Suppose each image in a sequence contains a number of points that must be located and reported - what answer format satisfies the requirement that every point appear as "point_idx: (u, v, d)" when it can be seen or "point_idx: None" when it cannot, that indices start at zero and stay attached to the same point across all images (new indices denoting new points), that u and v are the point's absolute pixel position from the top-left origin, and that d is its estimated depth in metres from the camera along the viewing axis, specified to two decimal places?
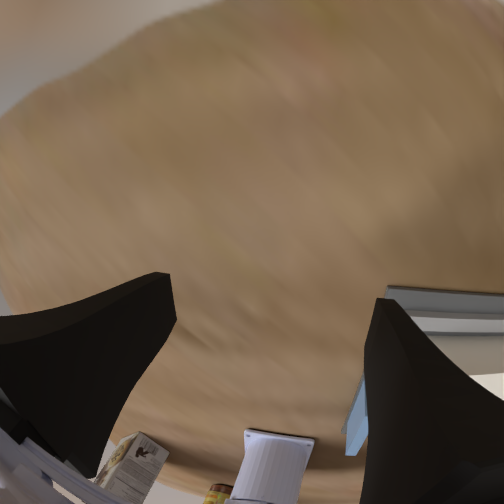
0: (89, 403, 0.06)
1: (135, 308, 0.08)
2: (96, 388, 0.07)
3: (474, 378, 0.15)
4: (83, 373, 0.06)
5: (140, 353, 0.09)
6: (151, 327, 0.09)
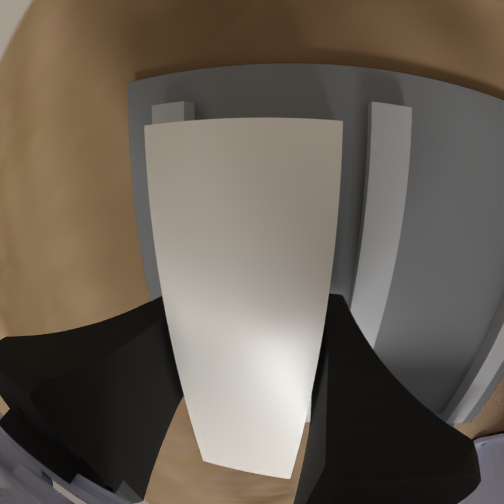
0: (141, 426, 0.06)
1: None
2: (148, 409, 0.06)
3: (190, 382, 0.08)
4: (136, 395, 0.06)
5: None
6: None
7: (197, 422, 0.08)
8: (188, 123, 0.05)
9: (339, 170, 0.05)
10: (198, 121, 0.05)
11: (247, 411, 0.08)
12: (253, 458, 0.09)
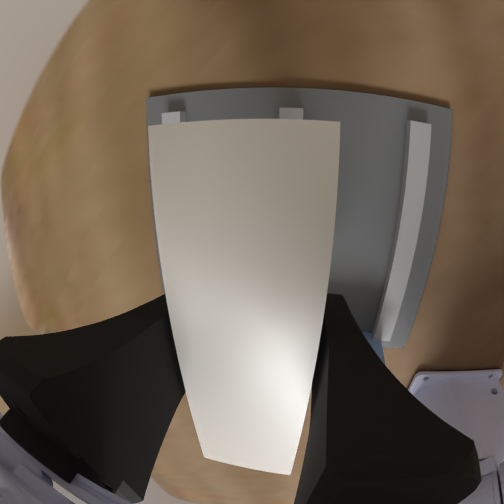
0: (141, 426, 0.06)
1: None
2: (147, 409, 0.06)
3: (192, 378, 0.08)
4: (136, 395, 0.06)
5: None
6: None
7: (198, 418, 0.09)
8: (191, 124, 0.05)
9: (337, 169, 0.05)
10: (201, 122, 0.05)
11: (248, 406, 0.08)
12: (254, 454, 0.09)
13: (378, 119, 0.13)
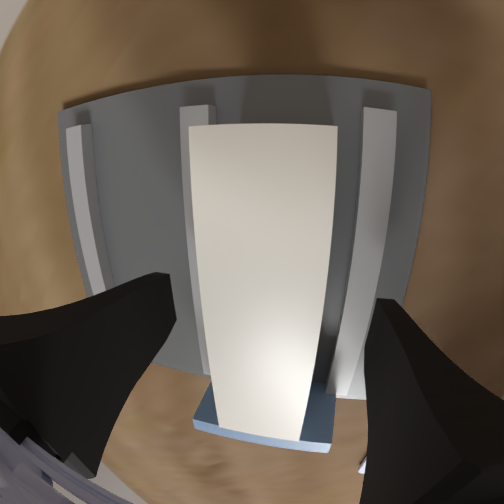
0: (89, 403, 0.06)
1: (135, 308, 0.08)
2: (96, 388, 0.07)
3: (215, 341, 0.09)
4: (83, 373, 0.06)
5: (140, 353, 0.09)
6: (151, 327, 0.09)
7: (217, 383, 0.10)
8: (224, 126, 0.07)
9: (335, 161, 0.06)
10: (232, 125, 0.07)
11: (263, 366, 0.09)
12: (267, 418, 0.11)
13: (318, 109, 0.10)
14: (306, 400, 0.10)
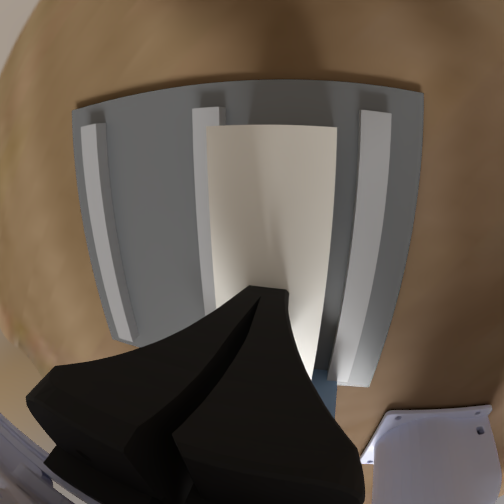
0: None
1: (247, 330, 0.08)
2: None
3: None
4: None
5: None
6: None
7: None
8: (238, 126, 0.08)
9: (335, 158, 0.07)
10: (245, 125, 0.08)
11: None
12: None
13: (320, 111, 0.11)
14: None
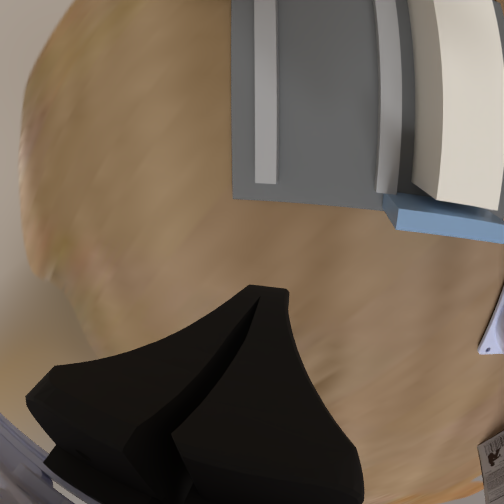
0: None
1: (247, 330, 0.08)
2: None
3: (449, 80, 0.09)
4: None
5: None
6: None
7: (447, 126, 0.10)
8: None
9: None
10: None
11: (479, 105, 0.09)
12: (479, 174, 0.10)
13: None
14: None
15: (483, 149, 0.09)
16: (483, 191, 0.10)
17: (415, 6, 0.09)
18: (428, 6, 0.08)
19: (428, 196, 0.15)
